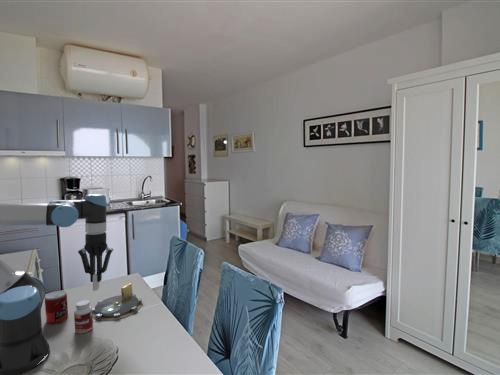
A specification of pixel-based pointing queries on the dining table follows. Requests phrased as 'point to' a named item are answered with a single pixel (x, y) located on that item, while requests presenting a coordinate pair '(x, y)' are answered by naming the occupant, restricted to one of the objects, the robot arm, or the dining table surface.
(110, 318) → the base
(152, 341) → the dining table surface
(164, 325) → the dining table surface
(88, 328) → the pill bottle
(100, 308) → the sprocket
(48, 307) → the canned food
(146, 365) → the dining table surface
